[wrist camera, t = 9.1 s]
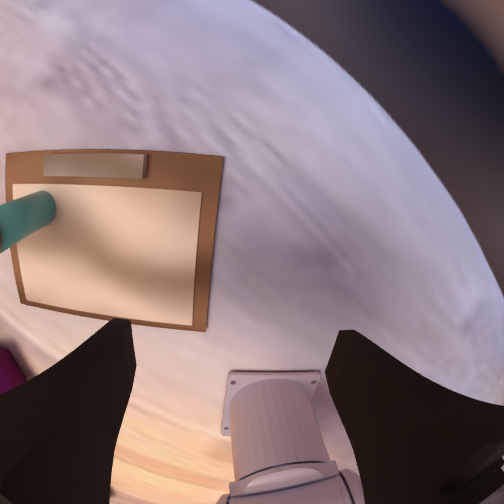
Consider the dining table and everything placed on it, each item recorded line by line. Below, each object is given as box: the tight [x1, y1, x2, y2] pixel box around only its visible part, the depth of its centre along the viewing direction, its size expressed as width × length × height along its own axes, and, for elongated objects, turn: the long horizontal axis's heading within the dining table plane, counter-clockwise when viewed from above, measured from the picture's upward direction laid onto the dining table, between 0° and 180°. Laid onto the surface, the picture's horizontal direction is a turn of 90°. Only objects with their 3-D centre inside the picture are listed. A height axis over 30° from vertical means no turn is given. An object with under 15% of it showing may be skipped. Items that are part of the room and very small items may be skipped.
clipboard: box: [5, 149, 223, 332], centre depth 17 cm, size 12×16×1 cm
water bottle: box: [0, 190, 56, 253], centre depth 12 cm, size 2×2×7 cm
